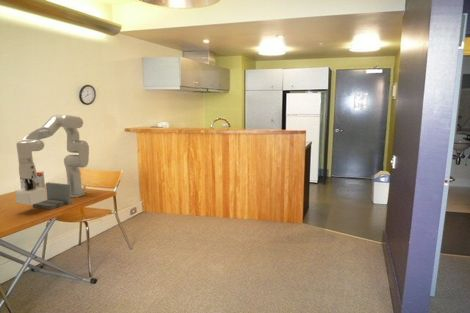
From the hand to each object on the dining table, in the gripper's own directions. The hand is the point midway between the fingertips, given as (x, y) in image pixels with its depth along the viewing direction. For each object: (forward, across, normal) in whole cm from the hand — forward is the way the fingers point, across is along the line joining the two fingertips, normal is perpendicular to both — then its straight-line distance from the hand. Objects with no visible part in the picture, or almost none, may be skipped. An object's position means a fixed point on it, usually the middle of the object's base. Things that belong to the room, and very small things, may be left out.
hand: (29, 188), depth 207 cm
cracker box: (+16, +23, -19) cm, 34 cm away
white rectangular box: (+9, 0, -1) cm, 9 cm away
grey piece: (+16, 0, -14) cm, 21 cm away
